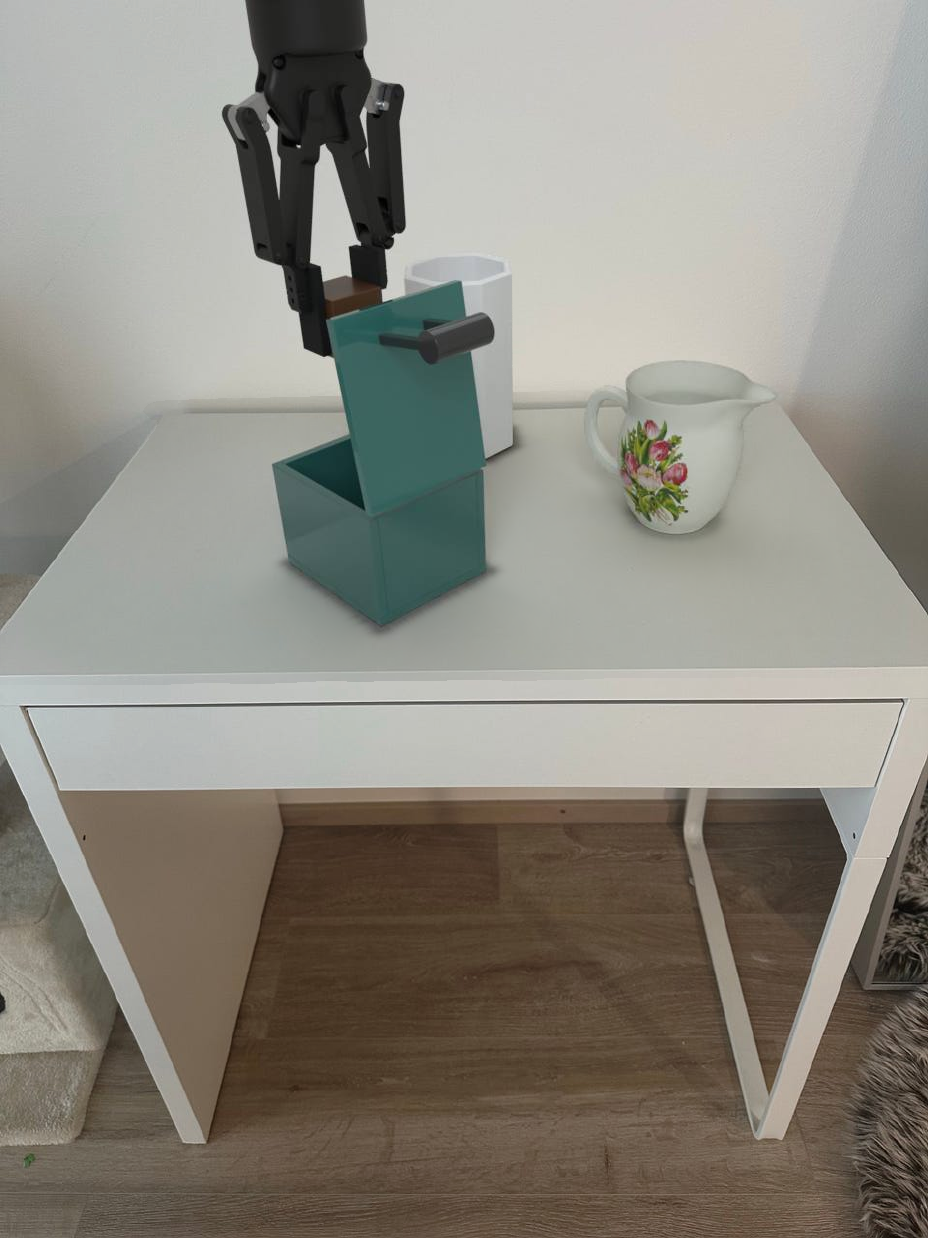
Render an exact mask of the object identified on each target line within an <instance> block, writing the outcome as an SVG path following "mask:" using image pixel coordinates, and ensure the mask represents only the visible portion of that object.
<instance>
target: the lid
mask: <svg viewBox="0 0 928 1238" xmlns="http://www.w3.org/2000/svg"><path fill="white" fill-rule="evenodd" d="M326 323H327V327H328V332H329V337H330V342H331V347H332V352H333V356H334V358H333V360H334V365H335V370H336V375H337V379H338V380H337V381H338V385H339V390H340V394H341V399H342V405H343V409H344V413H345V419H346V424H347V429H348V434H350V439H351V443H352V448H353V453H354V458H355V463H356V468H357V472H358V477H359V482H360V487H361V492H362V497H363V501H364V506H365V511H366V515H367V516H370V517H374V516H376V515H379V514H381V513H383V512H385V511H387V510H390V509H392V508H394V507H396V506H398V505H401V504H403V503H405V502H407V501H409V500H412V499H414V498H416V497H418V496H420V495H423V494H425V493H427V492H429V491H431V490H434V489H436V488H438V487H440V486H442V485H445V484H447V483H449V482H451V481H453V480H456V479H458V478H460V477H462V476H464V475H467V474H469V473H471V472H473V471H476V470H478V469H483V468H485V467H487V461H486V460H487V459H485V452H484V445H483V437H482V430H481V422H480V415H479V407H478V400H477V392H476V385H475V377H474V370H473V363H472V355H471V351H472V350H475V349H477V348H480V347H483V346H486V345H488V344H490V343H491V342H492V341H493V339H494V335H495V330H494V325H493V322H492V320H491V319H490V317H489V316H488V315H487V314H485V313H483V312H478V313H475V314H472V315H469V316H466V310H465V303H464V295H463V288H462V281H460V280H454V281H450V282H447V283H444V284H441V285H437V286H434V287H431V288H428V289H424V290H421V291H418V292H414V293H411V294H408V295H405V294H404V295H401V296H398V297H395V298H392V299H389V300H388V299H387V300H385V301H383V302H382V303H378V304H375V305H372V306H369V307H365V308H362V309H359V310H355V311H352V312H349V313H346V314H342V315H339V316H336V317H333V318H329V319H327V320H326Z"/></svg>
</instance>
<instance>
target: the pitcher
mask: <svg viewBox="0 0 928 1238" xmlns="http://www.w3.org/2000/svg"><path fill="white" fill-rule="evenodd" d="M625 390H626V391H625ZM625 390H623V389H622V388H620V387H617V386H615V385H610V384H609V385H604V386H601V387H599V388H597V389H596V390H595V391H594V392H592V393H591V395H590V397H589V398H588V400H587V403H586V405H585V410H584V415H583V418H584V420H583V429H584V436H585V441H586V444H587V446H588V448H589V450H590V452H591V454H592V456H593V457H594V458H595V460H596V462H598V463H599V464H600V465H601V467H603V468H604V469H605V470H606V471H608V472H609V473H610V474H612V475H613V476H615V477H617V478H619V482H620V485H621V489H622V492H623V495H624V498H625V501H626V503H627V505H628V507H629V509H630V510H631V512H632V513H633V515H634V516H635V517H636V518H637V520H638V522H639V523H640V524H641V525H643V526H644V527H646V528H647V529H650V530H652V531H656V532H659V533H663V534H672V535H681V534H682V535H683V534H690V533H693V532H697V531H699V530H701V529H703V528H704V527H705V526H706V525H707V524H708V523H709V522H710V521H711V520H712V519H713V518H714V517H716V516H717V514H719V512H720V511H721V509H722V508H723V506H724V505H725V503H726V502H727V500H728V498H729V496H730V494H731V492H732V490H733V488H734V487H735V486H734V485H735V483H736V482H737V481H736V480H737V478H738V475H739V471H740V469H741V464H742V460H743V453H744V446H745V431H744V424H743V423H744V421H745V420H746V418H747V417H748V416H750V414H751V413H752V412H753V411H754V409H756V408H758V407H760V406H761V405H764V404H769V403H771V402H773V401H774V400H776V399H777V398H778V397H779V394H778V392H777V391H775V390H774V389H773V388H770V387H768V386H765V385H763V384H761V383H758V382H755V381H753V380H752V379H750V377H748V376H747V375H746V374H745V373H744V372H741V371H739V370H738V369H735V368H732V367H729V366H725V365H722V364H717V363H712V362H706V361H698V360H685V359H684V360H682V359H681V360H666V361H665V360H664V361H657V362H652V363H648V364H645V365H642V366H640V367H637V368H636V369H634V370H632V371H631V372H630V373H629V374H628V375H627V377H626V379H625ZM605 401H611V402H614V403H616V404H617V405H618V406H620V407H621V409H622V411H623V412H624V413H625V414H624V417H623V420H622V423H621V426H620V430H619V433H618V440H617V451H616V454H617V457H615V456H613V455H612V453H611V452H610V451H609V450H608V448H607V447H606V446H605V445H604V443H603V441H602V439H601V437H600V434H599V429H598V417H599V411H600V408H601V406H602V405H603V403H604V402H605Z"/></svg>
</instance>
